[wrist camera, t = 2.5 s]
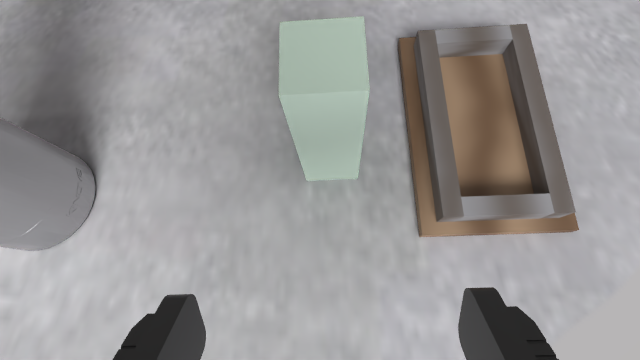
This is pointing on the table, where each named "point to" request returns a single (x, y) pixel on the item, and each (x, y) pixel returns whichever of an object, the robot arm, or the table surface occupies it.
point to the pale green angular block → (325, 93)
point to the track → (481, 135)
